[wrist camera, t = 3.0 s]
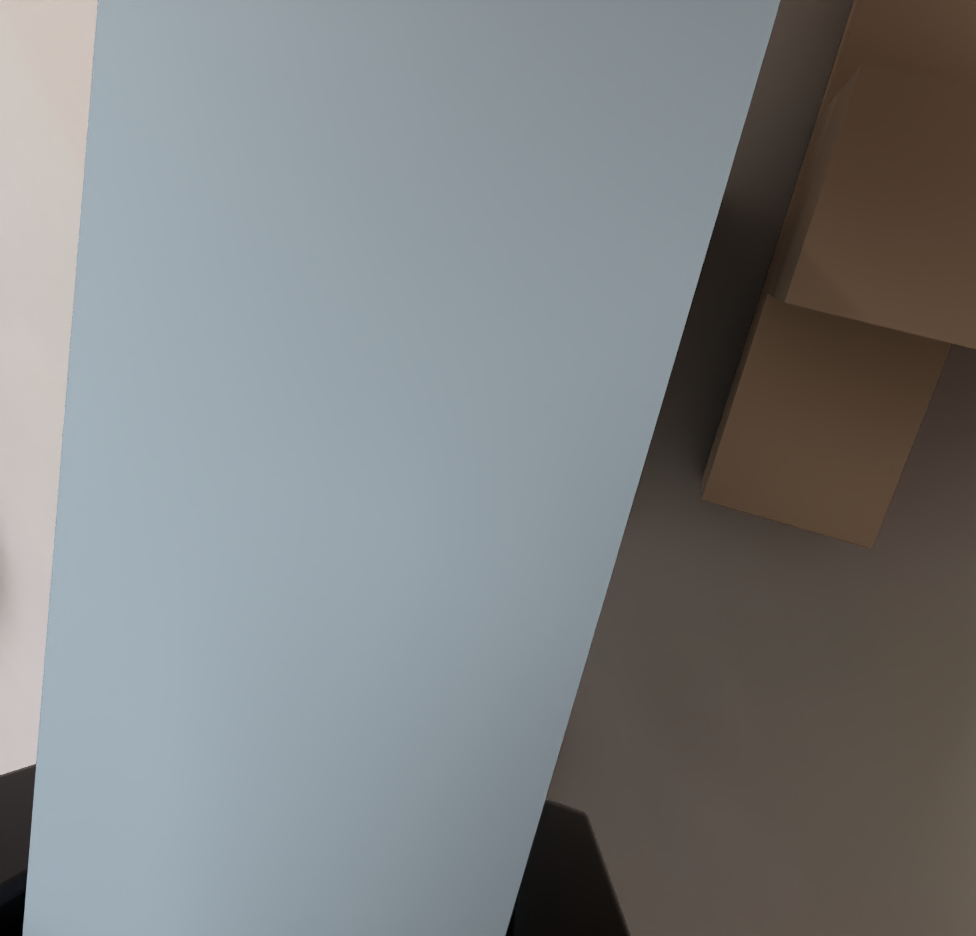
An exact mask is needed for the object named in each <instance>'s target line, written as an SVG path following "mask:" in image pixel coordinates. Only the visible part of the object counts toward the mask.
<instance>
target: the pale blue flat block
mask: <svg viewBox="0 0 976 936" xmlns="http://www.w3.org/2000/svg"><path fill="white" fill-rule="evenodd" d="M780 1H781V0H98V7H97V19H96V32H95V44H94V57H93V69H92V81H91V94H90V106H89V118H88V131H87V143H86V156H85V168H84V180H83V193H82V205H81V217H80V230H79V242H78V254H77V267H76V279H75V292H74V304H73V316H72V329H71V341H70V353H69V366H68V378H67V390H66V403H65V415H64V428H63V440H62V452H61V465H60V477H59V489H58V502H57V514H56V527H55V539H54V551H53V564H52V576H51V588H50V601H49V613H48V625H47V638H46V650H45V663H44V675H43V687H42V700H41V712H40V724H39V737H38V749H37V761H36V774H35V786H34V799H33V811H32V823H31V836H30V848H29V860H28V873H27V885H26V897H25V910H24V922H23V935H22V936H505V935H506V931H507V928H508V925H509V921H510V918H511V914H512V911H513V908H514V904H515V901H516V897H517V894H518V891H519V887H520V884H521V880H522V877H523V874H524V870H525V867H526V863H527V860H528V857H529V853H530V850H531V847H532V843H533V840H534V836H535V833H536V830H537V826H538V823H539V819H540V816H541V813H542V809H543V806H544V802H545V799H546V796H547V792H548V789H549V785H550V782H551V779H552V775H553V772H554V768H555V765H556V762H557V758H558V755H559V751H560V748H561V745H562V741H563V738H564V734H565V731H566V728H567V724H568V721H569V717H570V714H571V711H572V707H573V704H574V700H575V697H576V694H577V690H578V687H579V684H580V680H581V677H582V673H583V670H584V667H585V663H586V660H587V656H588V653H589V650H590V646H591V643H592V639H593V636H594V633H595V629H596V626H597V622H598V619H599V616H600V612H601V609H602V605H603V602H604V599H605V595H606V592H607V588H608V585H609V582H610V578H611V575H612V571H613V568H614V565H615V561H616V558H617V554H618V551H619V548H620V544H621V541H622V537H623V534H624V531H625V527H626V524H627V521H628V517H629V514H630V510H631V507H632V504H633V500H634V497H635V493H636V490H637V487H638V483H639V480H640V476H641V473H642V470H643V466H644V463H645V459H646V456H647V453H648V449H649V446H650V442H651V439H652V436H653V432H654V429H655V425H656V422H657V419H658V415H659V412H660V408H661V405H662V402H663V398H664V395H665V391H666V388H667V385H668V381H669V378H670V375H671V371H672V368H673V364H674V361H675V358H676V354H677V351H678V347H679V344H680V341H681V337H682V334H683V330H684V327H685V324H686V320H687V317H688V313H689V310H690V307H691V303H692V300H693V296H694V293H695V290H696V286H697V283H698V279H699V276H700V273H701V269H702V266H703V262H704V259H705V256H706V252H707V249H708V245H709V242H710V239H711V235H712V232H713V228H714V225H715V222H716V218H717V215H718V212H719V208H720V205H721V201H722V198H723V195H724V191H725V188H726V184H727V181H728V178H729V174H730V171H731V167H732V164H733V161H734V157H735V154H736V150H737V147H738V144H739V140H740V137H741V133H742V130H743V127H744V123H745V120H746V116H747V113H748V110H749V106H750V103H751V99H752V96H753V93H754V89H755V86H756V82H757V79H758V76H759V72H760V69H761V65H762V62H763V59H764V55H765V52H766V49H767V45H768V42H769V38H770V35H771V32H772V28H773V25H774V21H775V18H776V15H777V11H778V8H779V4H780Z"/></svg>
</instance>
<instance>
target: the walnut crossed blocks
mask: <svg viewBox="0 0 976 936" xmlns="http://www.w3.org/2000/svg"><path fill="white" fill-rule="evenodd" d="M952 344H956V345H960V346H964V347H968V348H972V349H976V0H854V2H853V6H852V9H851V12H850V15H849V18H848V21H847V24H846V28H845V31H844V34H843V37H842V40H841V43H840V46H839V50H838V53H837V56H836V59H835V62H834V65H833V68H832V72H831V75H830V78H829V81H828V84H827V87H826V90H825V94H824V97H823V100H822V103H821V106H820V109H819V112H818V116H817V119H816V122H815V125H814V128H813V131H812V134H811V138H810V141H809V144H808V147H807V150H806V153H805V156H804V160H803V163H802V166H801V169H800V172H799V175H798V178H797V182H796V185H795V188H794V191H793V194H792V197H791V200H790V204H789V207H788V210H787V213H786V216H785V219H784V222H783V226H782V229H781V232H780V235H779V238H778V241H777V244H776V248H775V251H774V254H773V257H772V260H771V263H770V266H769V270H768V273H767V276H766V279H765V282H764V285H763V288H762V292H761V295H760V298H759V301H758V304H757V307H756V310H755V314H754V317H753V320H752V323H751V326H750V329H749V333H748V336H747V339H746V342H745V345H744V348H743V351H742V355H741V358H740V361H739V364H738V367H737V370H736V373H735V377H734V380H733V383H732V386H731V389H730V392H729V395H728V399H727V402H726V405H725V408H724V411H723V414H722V417H721V421H720V424H719V427H718V430H717V433H716V436H715V439H714V443H713V446H712V449H711V452H710V455H709V458H708V461H707V465H706V468H705V471H704V474H703V477H702V500H704V501H707V502H711V503H714V504H718V505H721V506H725V507H728V508H732V509H735V510H739V511H742V512H746V513H749V514H753V515H756V516H760V517H763V518H767V519H770V520H773V521H777V522H780V523H784V524H787V525H791V526H794V527H798V528H801V529H805V530H808V531H812V532H815V533H819V534H822V535H826V536H829V537H833V538H836V539H839V540H843V541H846V542H850V543H853V544H857V545H860V546H864V547H867V548H871V549H872V548H873V545H874V543H875V540H876V538H877V535H878V533H879V530H880V527H881V525H882V522H883V520H884V517H885V515H886V512H887V510H888V507H889V504H890V502H891V499H892V497H893V494H894V492H895V489H896V486H897V484H898V481H899V479H900V476H901V474H902V471H903V469H904V466H905V463H906V461H907V458H908V456H909V453H910V451H911V448H912V446H913V443H914V440H915V438H916V435H917V433H918V430H919V428H920V425H921V422H922V420H923V417H924V415H925V412H926V410H927V407H928V405H929V402H930V399H931V397H932V394H933V392H934V389H935V387H936V384H937V382H938V379H939V376H940V374H941V371H942V369H943V366H944V364H945V361H946V359H947V356H948V353H949V351H950V348H951V346H952Z"/></svg>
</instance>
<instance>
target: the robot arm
mask: <svg viewBox="0 0 976 936" xmlns="http://www.w3.org/2000/svg"><path fill="white" fill-rule="evenodd" d="M35 774H36V764H34V765H31V766H28V767H25V768H22V769H19V770H15V771H12V772H9V773H6V774H3V775H0V936H22V935H23V922H24V910H25V897H26V885H27V873H28V860H29V848H30V836H31V823H32V811H33V799H34V786H35ZM505 936H631V935H630V932H629V930H628V927H627V924H626V921H625V918H624V916H623V913H622V910H621V907H620V905H619V902H618V899H617V896H616V893H615V891H614V888H613V885H612V882H611V879H610V877H609V874H608V871H607V868H606V866H605V863H604V860H603V857H602V854H601V852H600V849H599V846H598V843H597V840H596V838H595V835H594V832H593V829H592V827H591V824H590V821H589V818H588V816H587V815H586V814H585V813H584V812H582V811H580V810H577V809H574V808H571V807H569V806H566V805H563V804H560V803H558V802H555V801H552V800H545V802H544V806H543V809H542V813H541V816H540V819H539V823H538V826H537V830H536V833H535V836H534V840H533V843H532V847H531V850H530V853H529V857H528V860H527V863H526V867H525V870H524V874H523V877H522V880H521V884H520V887H519V891H518V894H517V897H516V901H515V904H514V908H513V911H512V914H511V918H510V921H509V925H508V928H507V931H506V935H505Z"/></svg>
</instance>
